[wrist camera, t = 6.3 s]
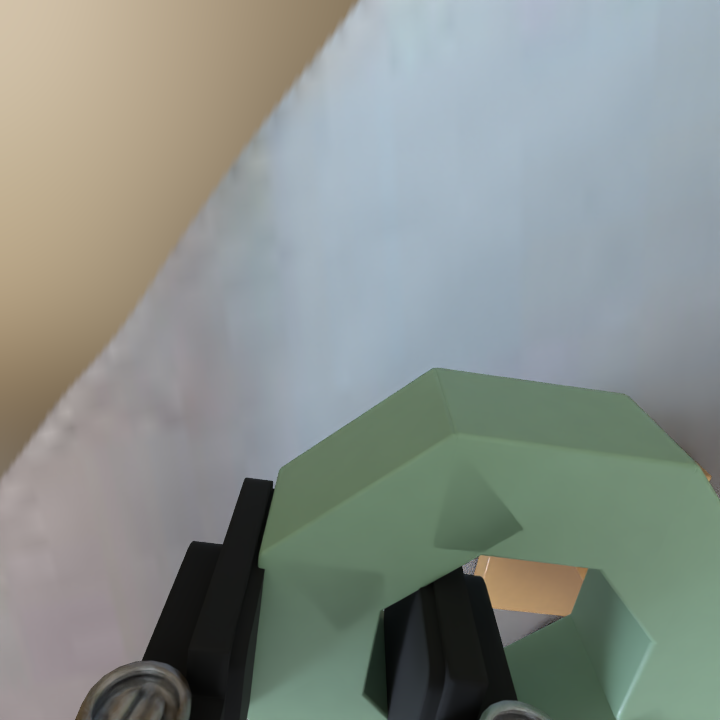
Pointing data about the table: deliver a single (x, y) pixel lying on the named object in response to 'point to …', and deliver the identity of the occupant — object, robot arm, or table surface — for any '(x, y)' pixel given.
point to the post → (532, 583)
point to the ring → (495, 549)
